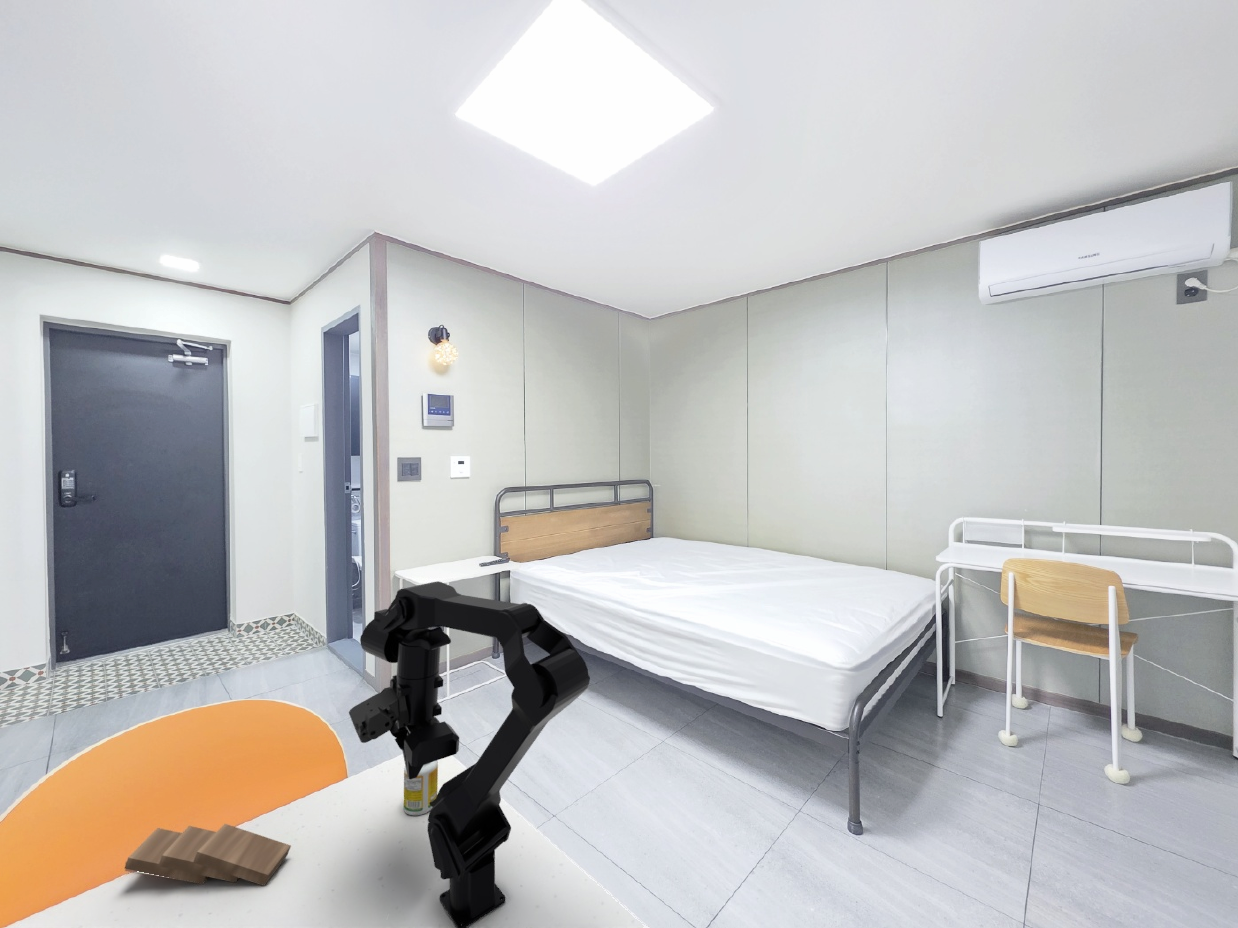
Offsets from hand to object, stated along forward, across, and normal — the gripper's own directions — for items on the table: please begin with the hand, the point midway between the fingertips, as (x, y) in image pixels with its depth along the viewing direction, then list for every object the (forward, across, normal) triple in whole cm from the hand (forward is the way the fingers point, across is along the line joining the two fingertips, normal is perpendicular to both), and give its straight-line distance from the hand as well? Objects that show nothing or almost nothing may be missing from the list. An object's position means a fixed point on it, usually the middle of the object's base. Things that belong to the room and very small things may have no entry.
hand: (412, 777), depth 72 cm
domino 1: (+13, -15, -22) cm, 29 cm away
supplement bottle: (+13, -11, +5) cm, 18 cm away
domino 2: (+13, -13, -18) cm, 26 cm away
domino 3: (+12, -10, -15) cm, 22 cm away
